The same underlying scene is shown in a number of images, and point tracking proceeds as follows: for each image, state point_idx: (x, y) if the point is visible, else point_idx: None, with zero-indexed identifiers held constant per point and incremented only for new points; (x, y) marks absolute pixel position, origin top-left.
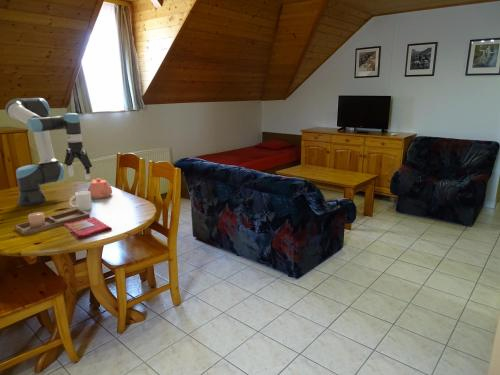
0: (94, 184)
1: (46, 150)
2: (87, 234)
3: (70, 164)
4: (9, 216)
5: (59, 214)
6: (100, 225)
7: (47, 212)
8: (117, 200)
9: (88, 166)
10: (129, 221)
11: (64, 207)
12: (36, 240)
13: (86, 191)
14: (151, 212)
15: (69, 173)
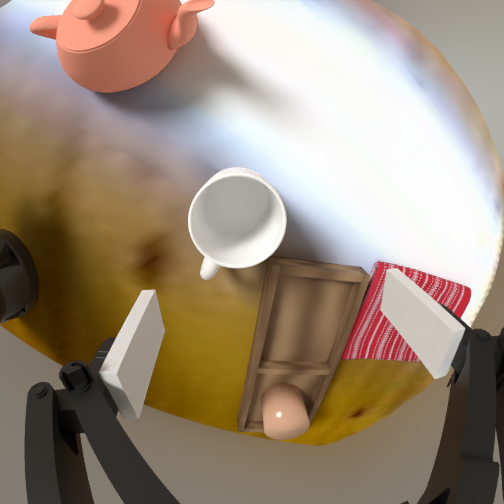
0: (109, 48)
1: None
2: None
3: (104, 397)
4: None
5: (264, 340)
6: (439, 295)
7: None
8: (267, 34)
9: (501, 372)
10: (477, 216)
11: (133, 240)
12: (342, 412)
13: (219, 179)
14: (483, 119)
15: (155, 353)
